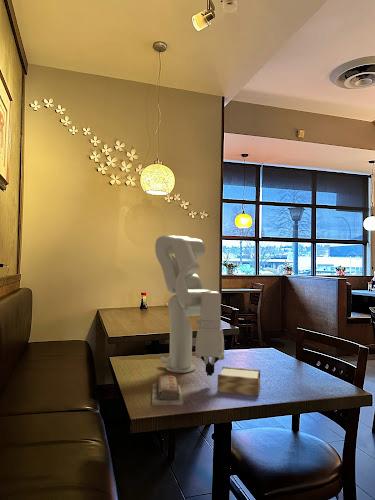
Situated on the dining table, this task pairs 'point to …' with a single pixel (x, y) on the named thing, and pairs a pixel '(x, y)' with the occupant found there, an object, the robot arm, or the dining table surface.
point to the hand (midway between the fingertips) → (209, 374)
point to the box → (239, 383)
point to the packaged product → (166, 391)
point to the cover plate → (240, 373)
